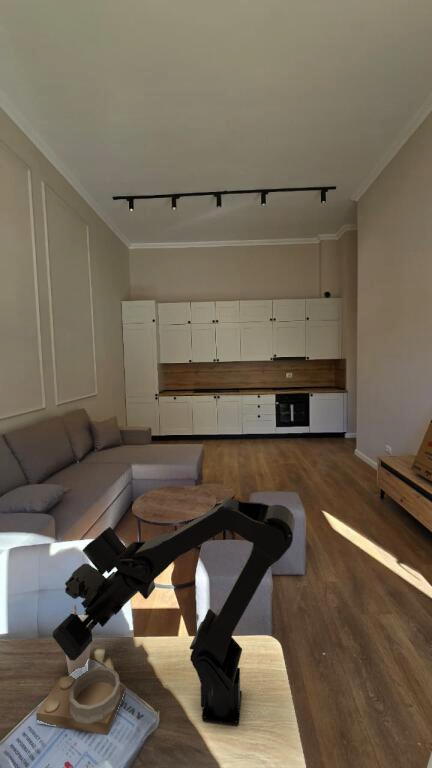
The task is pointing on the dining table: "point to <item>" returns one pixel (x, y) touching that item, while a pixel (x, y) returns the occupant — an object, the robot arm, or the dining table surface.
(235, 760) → the dining table surface
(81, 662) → the smoothie
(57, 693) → the seat board
